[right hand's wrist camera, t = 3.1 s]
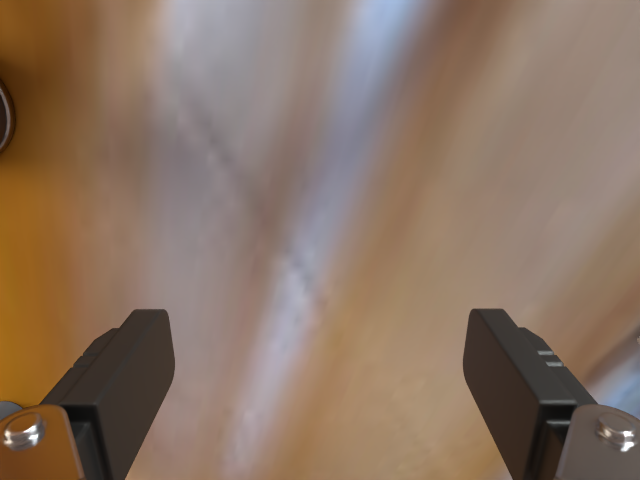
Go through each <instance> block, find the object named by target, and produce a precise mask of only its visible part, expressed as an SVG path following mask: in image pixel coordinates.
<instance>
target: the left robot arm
mask: <svg viewBox="0 0 640 480" xmlns="http://www.w3.org/2000/svg"><path fill="white" fill-rule="evenodd" d="M14 129H15V111H14V106H13V103H12V100H11V97H10V95H9V93H8V91H7V89H6V87H5V85H4V84H3V82H2V81H1V80H0V153H1V152H2V151H3V150H4V149H5V148H6V147H7V146H8V144H9V143H10V141H11V139H12V136H13V133H14Z"/></svg>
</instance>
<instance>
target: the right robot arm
mask: <svg viewBox="0 0 640 480" xmlns="http://www.w3.org/2000/svg"><path fill="white" fill-rule="evenodd" d="M174 370H175V358H174V351H173V344H172V337H171V330H170V323H169V316H168V313H167V311H166V310H164V309H136V310H134V311H133V312H132V313H131V314H130V315H129V317H128V318H127V319H126V320H125V322H124V323H123V324H122V325H121V327H120V328H113V329H111V330H109V331H108V332H106V333H105V334H103V335H102V336H100V337H98V338H97V339H95V340H94V341H93V343H92V344H91V345H90V346H89V347H88V348H87V349H86V351H85V352H84V353H83V356H80V358H79V359H78V360H77V361H76V362H75V363H74V365H73V368H70V369H69V370H68V371H67V373H66V374H65V375H64V376H63V377H62V378H61V380H60V381H59V382H58V383H57V384H56V385H55V387H54V388H53V389H52V390H51V391H50V392H49V394H48V395H47V396H46V397H45V398H44V399H43V400H42V402H41V403H40V404H39V405H35V406H31V407H27V408H24V409H21V410H19V411H16V412H14V413H12V414H10V415H8V416H6V417H5V418H3V419H1V420H0V480H125V478H126V476H127V474H128V472H129V470H130V468H131V465H132V463H133V461H134V459H135V457H136V455H137V453H138V451H139V449H140V447H141V445H142V443H143V441H144V439H145V437H146V435H147V433H148V431H149V429H150V427H151V424H152V422H153V420H154V418H155V416H156V414H157V412H158V410H159V408H160V406H161V404H162V402H163V400H164V398H165V396H166V394H167V392H168V390H169V388H170V385H171V383H172V380H173V377H174ZM463 371H464V377H465V380H466V383H467V385H468V387H469V389H470V391H471V393H472V395H473V398H474V400H475V402H476V404H477V406H478V408H479V410H480V412H481V414H482V416H483V418H484V420H485V422H486V425H487V427H488V429H489V431H490V433H491V435H492V437H493V439H494V441H495V443H496V445H497V447H498V449H499V452H500V454H501V456H502V458H503V460H504V462H505V464H506V466H507V468H508V470H509V472H510V474H511V476H512V479H513V480H640V420H639V419H637V418H635V417H634V416H632V415H630V414H628V413H626V412H624V411H621V410H619V409H616V408H613V407H609V406H605V405H598V403H597V402H596V401H595V400H594V399H593V398H592V396H591V395H590V394H589V393H588V392H587V391H586V389H585V388H584V387H583V386H582V385H581V383H580V382H579V381H578V380H577V379H576V378H575V376H574V375H573V374H572V373H571V372H570V371H569V369H568V368H567V367H564V365H563V362H562V361H561V360H560V359H559V358H558V357H557V355H554V352H553V351H552V350H551V348H550V347H549V346H548V345H547V344H546V343H545V341H544V340H543V339H542V338H540V337H539V336H537V335H535V334H534V333H532V332H531V331H529V330H528V329H526V328H518V327H517V325H516V324H515V323H514V322H513V320H512V319H511V318H510V317H509V315H508V314H507V313H506V312H505V311H504V310H503V309H472V310H471V312H470V315H469V320H468V327H467V334H466V341H465V348H464V356H463Z"/></svg>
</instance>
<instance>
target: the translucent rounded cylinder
mask: <svg viewBox="0 0 640 480" xmlns="http://www.w3.org/2000/svg"><path fill="white" fill-rule="evenodd" d="M21 409H22V408H21V407H20V406H19V405H17V404H15V403H12V402H8V401H1V402H0V420H1V419H3V418H5V417H6V416H8V415H10V414H12V413H14V412H16V411H19V410H21Z"/></svg>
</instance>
